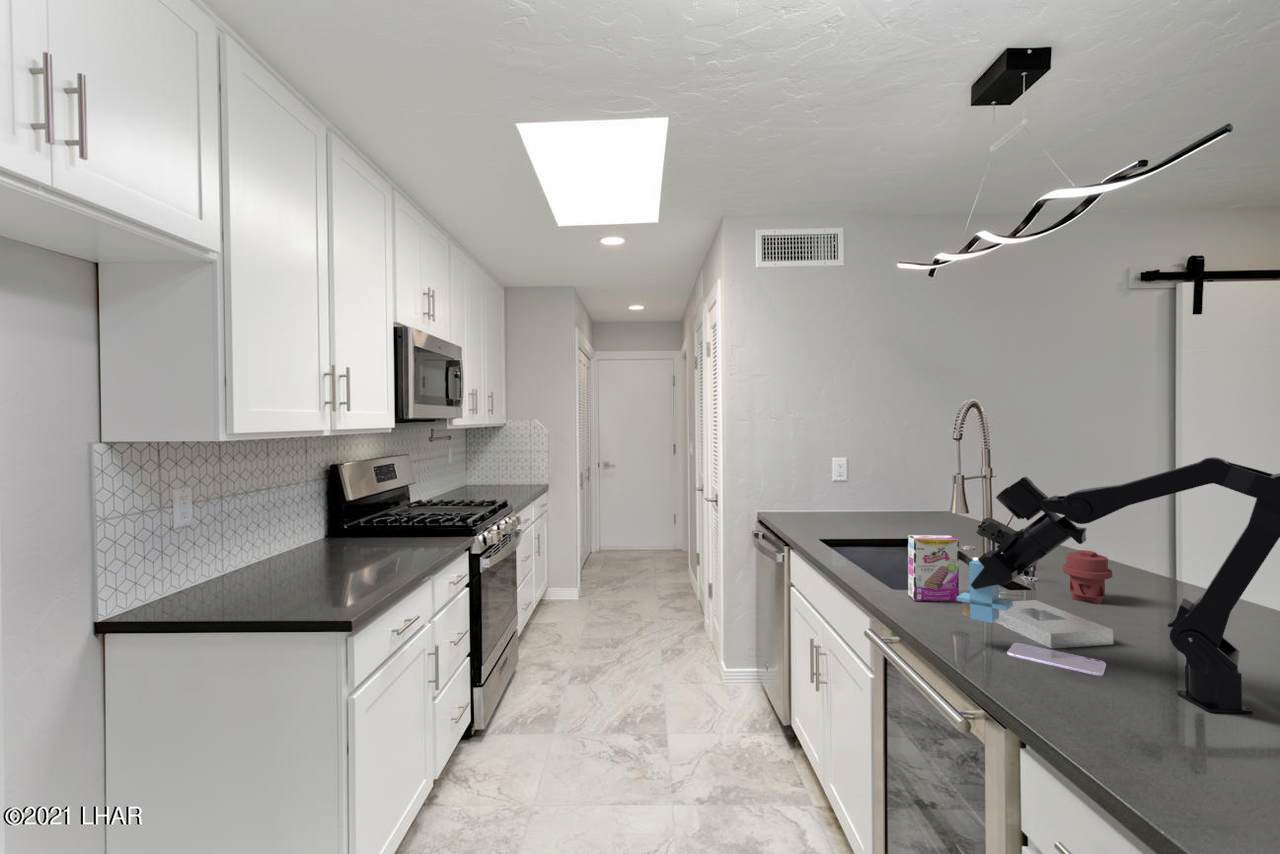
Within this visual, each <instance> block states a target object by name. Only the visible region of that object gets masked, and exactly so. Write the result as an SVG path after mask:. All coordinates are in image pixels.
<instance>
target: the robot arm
mask: <svg viewBox="0 0 1280 854" xmlns="http://www.w3.org/2000/svg"><path fill="white" fill-rule="evenodd" d="M1210 484H1212V485H1213V484H1214V485H1218V486H1220V487H1224V488H1227V489H1230V490H1232V491H1235V492H1237V493H1240V494H1242V495H1244V496H1245V495H1246V496H1248V497H1251V498H1254V499H1255V501H1254V505H1253V508H1252V511H1251V514H1250V518H1249V520H1248V523H1247V525H1246V526H1245V528H1244V529H1243V531H1242V533H1241V534H1240V536H1239V538H1238V539H1237V540H1236V542H1235V544H1234V545H1233V547H1232V548H1231V550H1230V552H1229V553H1228V554H1227V556H1226V558H1225V560H1224V561H1223V562H1222V564H1221V566H1220V567H1219V568H1218V570H1217V572H1216V574H1215V575H1214V576H1213V578H1212V580H1211V581H1210V583H1209V584H1208V586H1207V588H1206V589H1205V591H1204V592H1203V594H1202V595H1201V596H1200V597H1198V598H1197V599H1196V600H1195V601H1194V602H1192V601H1190V599H1187V598H1185V597H1183V598H1182V601H1181V602H1180V605H1179V606H1178V610H1177V612H1176V613H1174V614H1172V615H1171V617H1170V619H1169V621H1168V623H1167V627H1168V628H1171V630H1170V633H1169V640H1170V641H1171V643H1172V646H1173V647H1174V648H1175V650H1177V651H1178V652H1179V653H1181V654H1182V655H1184V657H1185V666H1184V676H1185V680H1184V681H1185V682H1184V683H1185V685H1184V686H1185V687H1184V689H1185V690H1183V689H1179V690H1178V689H1177V690H1176V695H1178V696H1180V697H1182V698H1184V699H1185V700H1187V701H1189V702H1191V703H1193V705H1196V706H1198V707H1200V708H1202V709H1204V710H1205V711H1207V712H1209V713H1227V714H1228V713H1230V714H1231V713H1232V714H1253V713H1254V711H1253V709H1252V708H1250V707H1248V706H1246V705H1244V704H1243V692H1242V691H1243V686H1242V684H1243V683H1242V673H1241V672H1239V668H1238V667H1239V659H1240V650H1239V649H1238V648H1236V647H1235V646H1234V645H1233V644H1232V643H1231V642H1230V641H1228V640H1227V639H1226V638H1225V637H1224V633H1225V630H1226V628H1227V624H1228V621H1229V617H1230V616H1231V615H1230V614H1231V612H1232V611H1233V609H1234V608H1235V606H1236V604H1237V603H1238V602H1239V600H1240V599H1241V596H1242V595H1243V594H1244V592H1245V591H1246V589H1247V588H1248V586H1249V585H1250V583H1251V581H1252V580H1253V579H1254V577H1255V576H1256V574H1257V572H1258V571H1259V570H1260V568H1261V567H1262V565H1263V563H1264V562H1265V561H1266V559H1267V557H1268V556H1269V555H1270V553H1271V551H1272V549H1273V548H1274V547H1275V545H1276V543H1277V542H1278V540H1279V539H1280V472H1279V473H1270V472H1266V471H1262V470H1259V469H1258V468H1257V469H1256V468H1253V467H1248V466H1243V465H1241V464H1236V463H1234V462H1230V461H1227V460H1225V459H1223V458H1220V457H1215V456H1211V457H1206V458H1204V459H1202V460H1200V461H1199V462H1195V463H1190V464H1187V465H1183V466H1181V467H1177V468H1173V469H1170V470H1167V471H1164V472H1160V473H1157V474H1153V475H1149V476H1146V477H1143V478H1140V479H1135V480H1132V481H1129V482H1125V483H1123V484H1122V483H1121V484H1115V485H1114V484H1113V485H1107V486H1106V485H1105V486H1099V487H1098V486H1097V487H1091V488H1083V489H1078V490H1077V491H1074V492H1071V493H1068V494H1067V495H1057V494H1056V495H1054V496H1050V497H1049V496H1047V495H1046V493H1044V492H1043V491H1042V490H1041V489H1040V488H1038V486H1036V485H1035V484H1034V482H1033V481H1032V480H1031V479H1030V478H1029V477H1027V476H1023V477H1021V478H1020V479H1019V480H1018V481H1016V482H1014V483H1013V484H1011V485H1010V486H1008V487H1006V488H1004V489H1003V490H1002V491H1000V492H999V494H997V495H996V496H995V499H996V500H997V501H998V502H999V503H1000V504H1001V505H1003V506H1004V507H1005V508H1006V509H1007V510H1008V511H1009V512H1010V513H1011V514H1012V515H1013V516H1015V518H1016V519H1017V520H1021V519H1022V520H1024V519H1025V520H1026V521H1030V520H1033V518H1034V517H1037V515H1039V514H1040V513H1042V512H1043V514H1042V515H1041V516H1039V517H1038V518H1037V519H1035V520H1034V521H1032V522H1031V523H1029V524H1028V525H1027V526H1026V527H1025V528H1021V529H1019V530H1015V529H1013V528H1012V527H1011V526H1009V525H1006V524H1004V523H1003V522H1001V521H998V520H997V519H994V518H992V517H985V518H983V519H982V521H981V522H980V523H979V525H977V531H976V534H977V535H978V536H980V537H984V538H986V539H988V540H990V541H991V542H993V543H996V544H998V545H997V546H996V548H997V549H996V550H992V549H991V550H989V551H987V552H985V553H984V554H982V555H981V556H980V558H978V560H979V562H980V563H981V564H982V565H983V566H984V568H983V569H982V571H981V572H980V573H979V575H978V576H977V577H976V579H975V580H974V581H973V582H972V584H971V586H972V587H973V588H974V589H979V588H984V587H989V586H994V585H999V586H1000V585H1002V586H1006V585H1008V584H1009V583H1010V582H1012V581H1013V580H1015V579H1016V578H1017V577H1018V576H1021V575H1022V574H1024V571H1029V570H1030V569H1032V568H1033V567H1035V566H1036V565H1037V564H1038V561H1040V560H1041V559H1043V558H1044V557H1045V556H1047V555H1049V553H1051V552H1053V550H1055V549H1057V548H1058V547H1059V546H1061V545H1062V544H1064V543H1065V542H1066V541H1067V540H1069V539H1071V538H1072V539H1073V540H1074V541H1075V542H1076V543H1077V544H1078V545H1082V544H1084V543H1085V542H1087V537H1086V536H1087V535H1086V532H1087V527H1080V526H1077V525H1083V524H1084V525H1085V524H1090V523H1092V522H1095V521H1098V520H1100V519H1101V518H1104V517H1106V516H1108V515H1110V514H1114V513H1115V512H1118V511H1120V510H1121V509H1124V508H1127V507H1128V506H1131V505H1135V504H1139V503H1142V502H1143V503H1144V502H1146V501H1150V500H1154V499H1157V498H1161V497H1165V496H1169V495H1172V494H1176V493H1177V494H1178V493H1179V492H1184V491H1186V490H1187V491H1188V490H1192V489H1195V488H1199V487H1203V486H1205V485H1210ZM1060 515H1063V516H1062V517H1061V516H1060ZM1076 524H1077V525H1076Z"/></svg>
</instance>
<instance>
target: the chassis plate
mask: <svg viewBox="0 0 1280 854" xmlns="http://www.w3.org/2000/svg"><path fill="white" fill-rule="evenodd" d="M993 623H996V624H998V625H1000V626H1002V627H1005V628H1007V629H1008V630H1010V631H1013V632H1015V633H1017V634H1018V635H1021V636H1024V637H1025V638H1028V639H1029V640H1032V641H1034V642H1036V643H1038V644H1040V645H1043V646H1045V647H1047V648H1048V649H1050V650H1053V649H1063V648H1064V649H1065V648H1078V647H1079V648H1080V647H1081V648H1082V647H1092V646H1093V647H1094V646H1107V645H1108V646H1109V645H1114V629H1112V628H1109V627H1107V626H1104V625H1102V624H1098V623H1097V622H1093V621H1091V620H1088V619H1086V618H1083V617H1081V616H1078V615H1075V614H1073V613H1070V612H1068V611H1064V610H1062V609H1061V608H1057V607H1054V606H1051V605H1050V604H1047V603H1044V602H1042V601H1039V600H1037V599H1030V600H1027V599H1026V600H1014V601H1013V606H1012V607H1010V608H1009V609H1008V610H1001V609H999V618H998V619H997V620H996V621H994V622H993Z"/></svg>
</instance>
